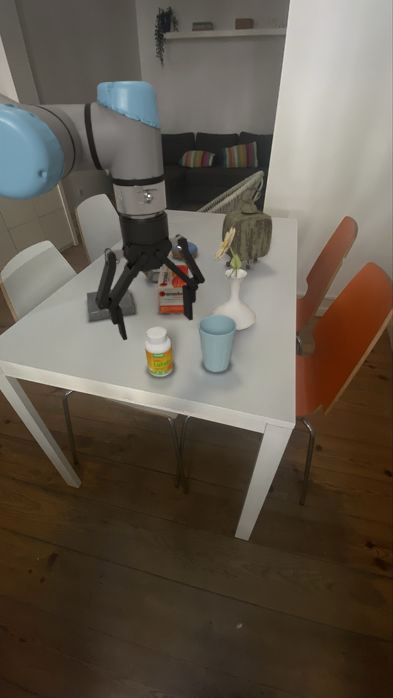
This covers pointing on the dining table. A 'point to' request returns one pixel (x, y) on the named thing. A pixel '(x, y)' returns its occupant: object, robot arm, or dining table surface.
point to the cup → (216, 341)
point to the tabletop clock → (248, 231)
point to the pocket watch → (152, 275)
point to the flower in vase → (234, 289)
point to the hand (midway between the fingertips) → (157, 326)
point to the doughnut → (192, 249)
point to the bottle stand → (103, 314)
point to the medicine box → (171, 290)
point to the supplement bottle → (158, 352)
